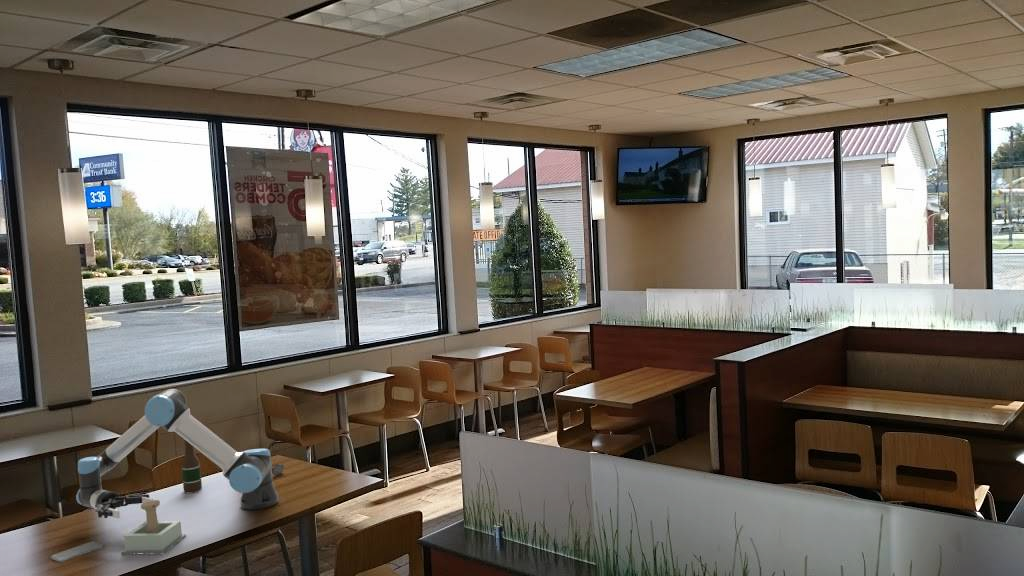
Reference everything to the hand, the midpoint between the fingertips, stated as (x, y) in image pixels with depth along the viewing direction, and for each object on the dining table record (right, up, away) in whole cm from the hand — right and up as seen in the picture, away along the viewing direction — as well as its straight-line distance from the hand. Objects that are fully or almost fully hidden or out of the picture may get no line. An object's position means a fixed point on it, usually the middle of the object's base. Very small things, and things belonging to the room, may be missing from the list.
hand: (136, 508), depth 302 cm
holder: (+9, -12, -5) cm, 16 cm away
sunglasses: (+24, -6, +77) cm, 81 cm away
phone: (-18, -15, -7) cm, 25 cm away
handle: (+9, -12, -5) cm, 15 cm away
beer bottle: (-2, -8, +60) cm, 60 cm away
